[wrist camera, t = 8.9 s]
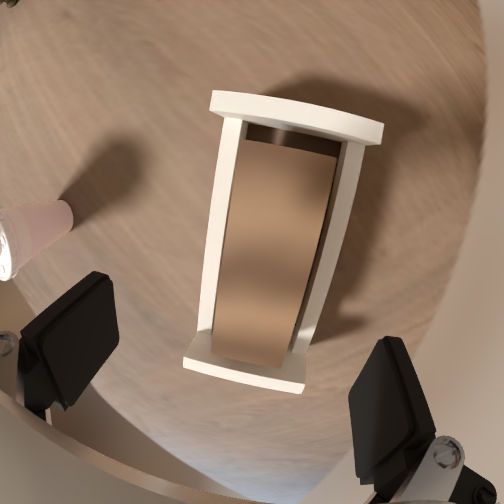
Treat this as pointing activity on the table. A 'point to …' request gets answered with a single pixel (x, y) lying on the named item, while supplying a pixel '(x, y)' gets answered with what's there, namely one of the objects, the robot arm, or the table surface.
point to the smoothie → (30, 232)
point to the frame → (345, 183)
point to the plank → (269, 249)
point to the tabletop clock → (8, 3)
